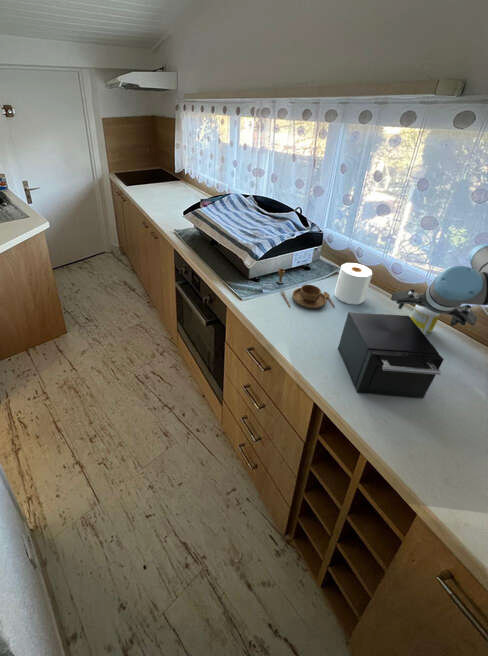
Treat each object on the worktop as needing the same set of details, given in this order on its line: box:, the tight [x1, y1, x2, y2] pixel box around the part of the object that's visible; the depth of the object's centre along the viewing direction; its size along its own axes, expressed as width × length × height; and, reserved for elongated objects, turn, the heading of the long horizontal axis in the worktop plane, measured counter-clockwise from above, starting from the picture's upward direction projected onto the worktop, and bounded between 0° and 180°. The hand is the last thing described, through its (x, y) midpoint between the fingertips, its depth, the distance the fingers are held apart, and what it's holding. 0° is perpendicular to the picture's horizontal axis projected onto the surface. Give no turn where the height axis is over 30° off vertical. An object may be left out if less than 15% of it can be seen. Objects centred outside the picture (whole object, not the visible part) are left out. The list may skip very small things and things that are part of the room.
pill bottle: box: [410, 304, 441, 336], centre depth 97 cm, size 6×6×12 cm
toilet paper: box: [334, 262, 373, 305], centre depth 113 cm, size 10×10×12 cm
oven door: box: [354, 350, 444, 400], centre depth 74 cm, size 5×16×14 cm, turn 83°
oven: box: [337, 311, 440, 388], centre depth 83 cm, size 14×16×14 cm
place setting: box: [277, 268, 336, 310], centre depth 117 cm, size 18×20×6 cm
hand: (425, 312), depth 97 cm, fingers open, 13 cm apart
